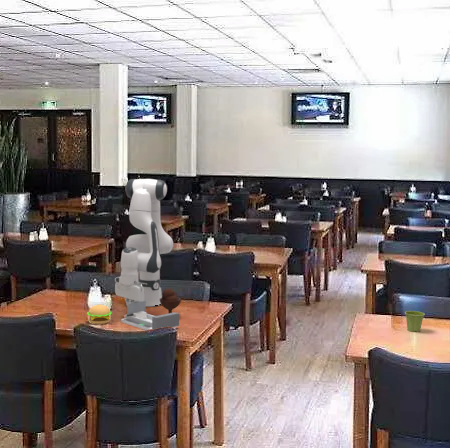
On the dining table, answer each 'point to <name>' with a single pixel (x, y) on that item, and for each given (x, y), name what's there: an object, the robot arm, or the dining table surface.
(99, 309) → the hamburger
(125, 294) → the robot arm
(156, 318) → the grey mounting bracket
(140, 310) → the gauge carriage
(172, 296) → the ice cream bowl
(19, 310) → the dining table surface
